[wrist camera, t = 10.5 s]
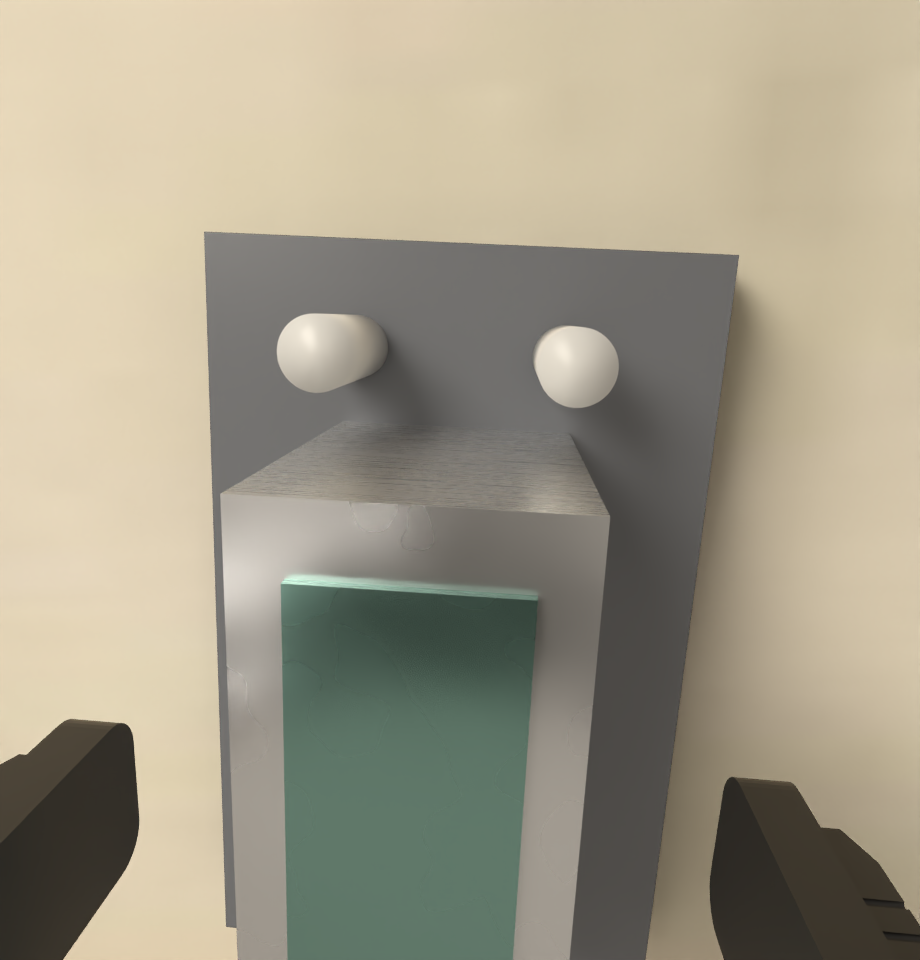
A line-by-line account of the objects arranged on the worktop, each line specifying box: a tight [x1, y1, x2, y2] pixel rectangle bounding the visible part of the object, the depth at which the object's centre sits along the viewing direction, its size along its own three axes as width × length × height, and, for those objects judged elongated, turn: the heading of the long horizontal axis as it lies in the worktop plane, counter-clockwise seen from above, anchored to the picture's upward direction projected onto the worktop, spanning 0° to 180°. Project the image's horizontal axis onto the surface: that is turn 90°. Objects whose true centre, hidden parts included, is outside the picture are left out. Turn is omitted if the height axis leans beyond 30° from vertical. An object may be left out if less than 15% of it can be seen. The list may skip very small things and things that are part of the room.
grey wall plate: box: [204, 232, 739, 960], centre depth 14 cm, size 16×10×4 cm, turn 177°
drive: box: [220, 421, 610, 960], centre depth 12 cm, size 9×4×6 cm, turn 178°
